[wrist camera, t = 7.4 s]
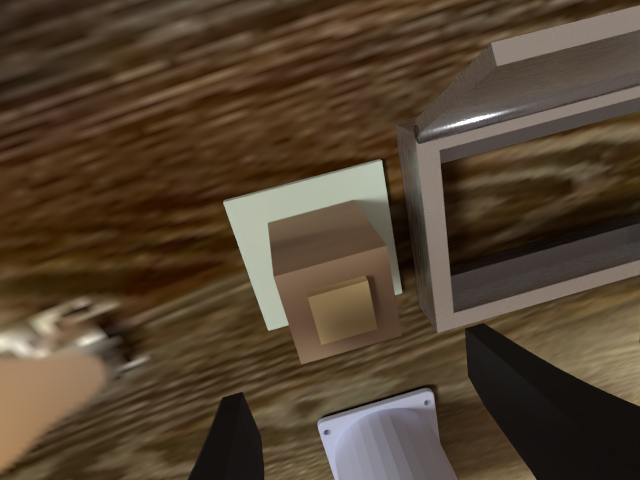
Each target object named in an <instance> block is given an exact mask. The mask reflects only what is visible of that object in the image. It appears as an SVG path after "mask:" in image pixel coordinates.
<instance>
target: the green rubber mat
mask: <svg viewBox="0 0 640 480" xmlns="http://www.w3.org/2000/svg"><path fill="white" fill-rule="evenodd" d="M350 200H354V201H355V202H356V204H357V205H358V207H359V208H360V209H361V211H362V212H363V213H364V215H365V216H366V218H367V219H368V220H369V222H370V223H371V224H372V226H373V227H374V229H375V230H376V231H377V233H378V234H379V235H380V237H381V238H382V240H383V241H384V242H385V244H386V245H387V250H388V256H389V262H390V268H391V274H392V280H393V286H394V292H395V295H397V294H400V293H402V288H401V282H400V275H399V269H398V262H397V256H396V249H395V243H394V236H393V230H392V223H391V217H390V210H389V204H388V197H387V191H386V184H385V178H384V171H383V165H382V160H381V159H379V160H375V161H371V162H367V163H363V164H360V165H356V166H352V167H348V168H344V169H341V170H337V171H333V172H329V173H326V174H322V175H318V176H314V177H310V178H307V179H303V180H299V181H295V182H291V183H288V184H284V185H280V186H276V187H273V188H269V189H265V190H261V191H257V192H254V193H250V194H246V195H242V196H239V197H235V198H231V199H227V200H224V201H223V203H224V206H225V209H226V212H227V214H228V217H229V220H230V223H231V226H232V229H233V232H234V234H235V237H236V240H237V243H238V246H239V249H240V251H241V254H242V257H243V260H244V263H245V266H246V269H247V271H248V274H249V277H250V280H251V283H252V286H253V288H254V291H255V294H256V297H257V300H258V303H259V306H260V308H261V311H262V314H263V317H264V320H265V323H266V325H267V328H268V331H269V330H273V329H276V328H280V327H284V326H287V325H289V324H288V321H287V318H286V314H285V311H284V308H283V305H282V302H281V299H280V296H279V293H278V290H277V286H276V283H275V280H274V277H273V268H272V259H271V250H270V241H269V232H268V223H269V222H273V221H276V220H280V219H284V218H287V217H291V216H295V215H298V214H302V213H306V212H310V211H313V210H317V209H321V208H324V207H328V206H332V205H336V204H339V203H343V202H347V201H350Z"/></svg>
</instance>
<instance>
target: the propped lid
mask: <svg viewBox="0 0 640 480" xmlns="http://www.w3.org/2000/svg"><path fill="white" fill-rule="evenodd" d="M638 86H640V5H639V6H635V7H631V8H627V9H624V10H620V11H616V12H612V13H608V14H604V15H600V16H596V17H592V18H588V19H584V20H580V21H576V22H572V23H568V24H564V25H560V26H556V27H552V28H548V29H544V30H541V31H537V32H533V33H529V34H525V35H521V36H517V37H513V38H509V39H505V40H501V41H497V42H493V43H491V44H490V45H489V46H488V47H487V48H486V49H485V50H484V51H483V52H482V53H481V54H480V55H479V56H478V57H477V58H476V59H475V60H474V61H473V62H472V63H471V64H470V65H469V66H468V67H467V68H466V69H465V70H464V71H463V72H462V73H461V74H460V75H459V76H458V77H457V78H456V79H455V80H454V81H453V82H452V83H451V84H450V85H449V86H448V87H447V88H446V89H445V90H444V91H443V92H442V93H441V94H440V96H439V97H438V98H437V99H436V100H435V101H434V102H433V103H432V104H431V105H430V106H429V107H428V108H427V109H426V110H425V111H424V112H423V113H422V114H421V115H420V116H419V117H418V118H417V119H416V120H415V122H416V125H415V127H414V135H415V139H416V141H417V143H418V144H422V143H426V142H429V141H433V140H437V139H441V138H445V137H448V136H452V135H456V134H460V133H464V132H467V131H471V130H475V129H479V128H483V127H486V126H490V125H494V124H498V123H501V122H505V121H509V120H513V119H517V118H520V117H524V116H528V115H532V114H536V113H539V112H543V111H547V110H551V109H555V108H558V107H562V106H566V105H570V104H574V103H577V102H581V101H585V100H589V99H593V98H596V97H600V96H604V95H608V94H611V93H615V92H619V91H623V90H627V89H630V88H634V87H638Z"/></svg>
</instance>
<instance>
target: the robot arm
mask: <svg viewBox="0 0 640 480" xmlns="http://www.w3.org/2000/svg"><path fill="white" fill-rule="evenodd" d="M465 336H466V351H467V366H468V376H469V378H470V380H471V382H472V384H473V386H474V388H475V389H476V391H477V393H478V395H479V397H480V398H481V400H482V402H483V404H484V405H485V407H486V408H487V410H488V411H489V413H490V414H491V416H492V417H493V418H494V420H495V421H496V423H497V424H498V425H499V427H500V428H501V430H502V431H503V432H504V434H505V435H506V437H507V438H508V439H509V441H510V442H511V444H512V445H513V446H514V448H515V449H516V451H517V452H518V453H519V455H520V456H521V458H522V459H523V460H524V462H525V463H526V465H527V466H528V467H529V469H530V470H531V472H532V473H533V475H534V476H535V478H536V479H537V480H640V406H637V405H635V404H632V403H630V402H627V401H625V400H623V399H620V398H618V397H616V396H614V395H612V394H609V393H607V392H605V391H603V390H600V389H598V388H596V387H594V386H592V385H590V384H588V383H586V382H584V381H582V380H580V379H578V378H576V377H574V376H572V375H570V374H568V373H566V372H564V371H562V370H561V369H559V368H557V367H555V366H553V365H552V364H550V363H548V362H546V361H545V360H543V359H541V358H539V357H538V356H536V355H534V354H532V353H531V352H529V351H527V350H526V349H524V348H522V347H521V346H519V345H518V344H516V343H514V342H513V341H511V340H509V339H508V338H506V337H505V336H503V335H501V334H500V333H498V332H497V331H495V330H493V329H492V328H490V327H489V326H487V325H485V324H484V323H483V324H479V325H476V326H472V327H469V328H465ZM318 429H319V432H320V435H321V439H322V442H323V445H324V448H325V451H326V454H327V457H328V460H329V463H330V466H331V469H332V472H333V475H334V478H335V480H458V478H457V476H456V474H455V472H454V470H453V468H452V466H451V464H450V462H449V460H448V458H447V456H446V454H445V452H444V450H443V448H442V446H441V444H440V438H439V431H438V423H437V415H436V408H435V400H434V394H433V392H432V390H431V389H430V388H423V389H419V390H416V391H413V392H409V393H406V394H402V395H399V396H396V397H392V398H389V399H385V400H382V401H379V402H375V403H372V404H369V405H365V406H362V407H358V408H355V409H352V410H348V411H345V412H341V413H338V414H335V415H331V416H328V417H324V418H322V419H320V420H319V421H318ZM188 480H264V462H263V452H262V442H261V435H260V433H259V431H258V428H257V426H256V423H255V421H254V419H253V416H252V414H251V411H250V409H249V407H248V404H247V402H246V400H245V397H244V395H243V392H241V393H237V394H234V395H230V396H227V397H223V398H222V400H221V401H220V404H219V407H218V410H217V412H216V415H215V418H214V420H213V423H212V425H211V428H210V430H209V433H208V435H207V438H206V440H205V443H204V445H203V447H202V449H201V452H200V454H199V456H198V458H197V461H196V463H195V465H194V467H193V470H192V472H191V474H190V476H189V478H188Z"/></svg>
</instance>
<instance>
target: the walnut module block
mask: <svg viewBox="0 0 640 480" xmlns="http://www.w3.org/2000/svg"><path fill="white" fill-rule="evenodd" d="M268 232H269V241H270V250H271V259H272V268H273V277H274V280H275V283H276V286H277V290H278V293H279V296H280V299H281V302H282V305H283V308H284V311H285V314H286V318H287V321H288V324H289V327H290V330H291V333H292V336H293V339H294V342H295V346H296V349H297V352H298V355H299V358H300V361H301V364H304V363H308V362H311V361H315V360H318V359H322V358H325V357H329V356H332V355H336V354H339V353H343V352H346V351H350V350H353V349H356V348H360V347H363V346H367V345H370V344H374V343H377V342H381V341H384V340H388V339H391V338H395V337H398V336H401V335H402V334H401V328H400V322H399V316H398V310H397V304H396V298H395V292H394V286H393V280H392V274H391V268H390V262H389V256H388V250H387V245H386V244H385V242H384V241H383V240H382V238H381V237H380V235H379V234H378V233H377V231H376V230H375V229H374V227H373V226H372V224H371V223H370V222H369V220H368V219H367V218H366V216H365V215H364V213H363V212H362V211H361V209H360V208H359V207H358V205H357V204H356V202H355V201H354V200H350V201H347V202H343V203H339V204H336V205H332V206H328V207H324V208H321V209H317V210H313V211H310V212H306V213H302V214H298V215H295V216H291V217H287V218H284V219H280V220H276V221H273V222H269V223H268Z"/></svg>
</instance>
